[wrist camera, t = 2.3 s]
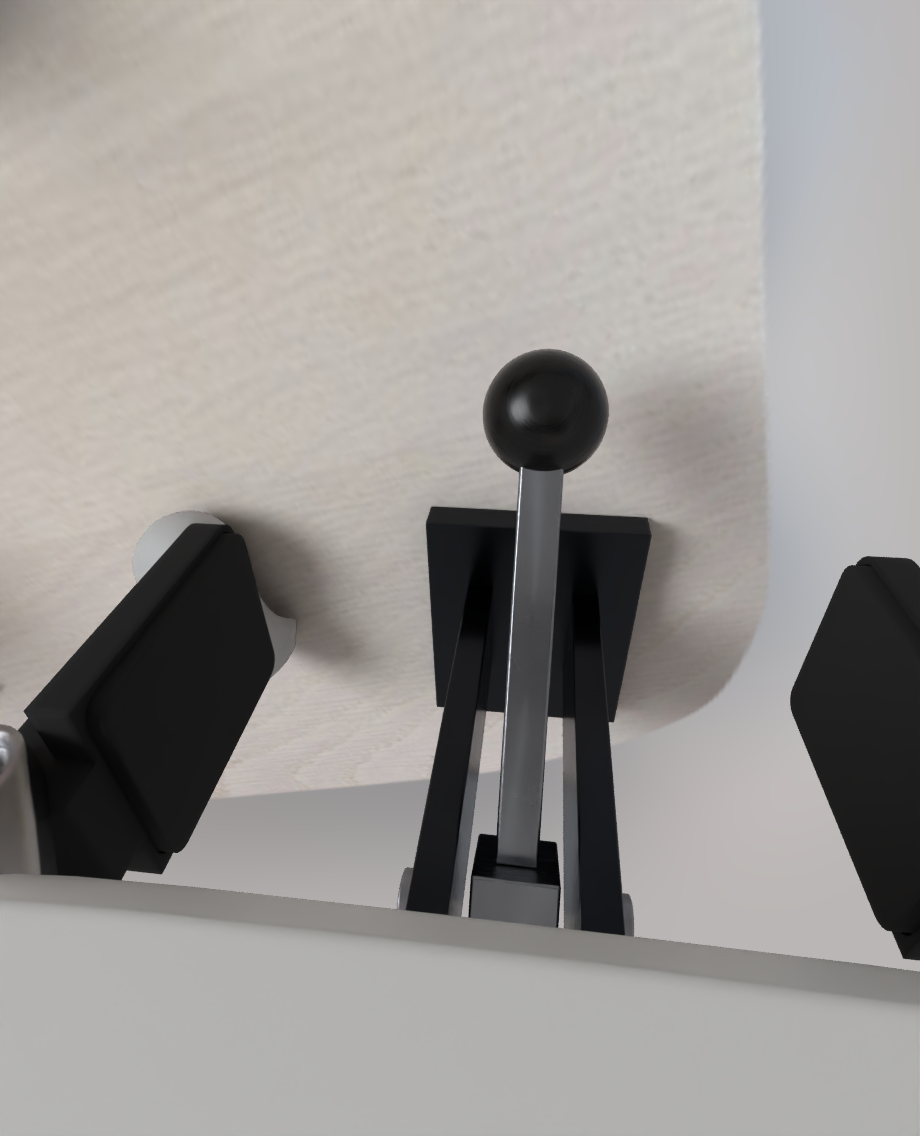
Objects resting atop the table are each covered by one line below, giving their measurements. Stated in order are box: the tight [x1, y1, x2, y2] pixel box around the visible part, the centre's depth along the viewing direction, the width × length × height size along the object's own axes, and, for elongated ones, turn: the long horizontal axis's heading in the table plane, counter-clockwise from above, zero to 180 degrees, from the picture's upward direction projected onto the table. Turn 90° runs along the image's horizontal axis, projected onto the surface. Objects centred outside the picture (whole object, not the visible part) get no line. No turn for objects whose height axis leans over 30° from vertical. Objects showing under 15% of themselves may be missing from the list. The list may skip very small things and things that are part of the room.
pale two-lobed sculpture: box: [133, 511, 296, 678], centre depth 25 cm, size 4×8×5 cm
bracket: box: [397, 507, 651, 937], centre depth 20 cm, size 10×8×14 cm
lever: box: [468, 349, 609, 928], centre depth 16 cm, size 16×3×3 cm
